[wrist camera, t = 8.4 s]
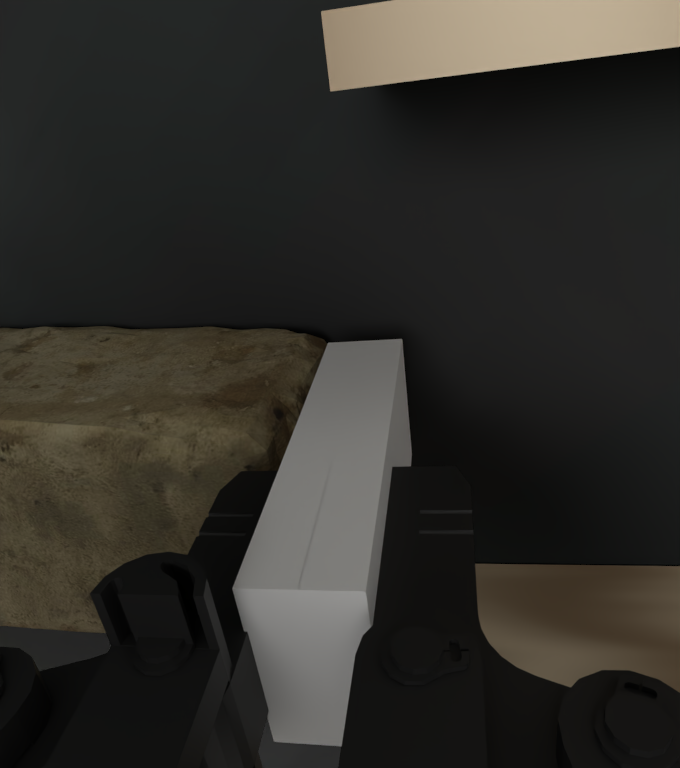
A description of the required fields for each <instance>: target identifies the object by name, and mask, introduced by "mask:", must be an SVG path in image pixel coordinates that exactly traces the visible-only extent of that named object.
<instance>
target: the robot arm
mask: <svg viewBox="0 0 680 768" xmlns="http://www.w3.org/2000/svg"><path fill="white" fill-rule="evenodd" d="M411 459H412V449H411V437H410V425H409V413H408V401H407V389H406V377H405V365H404V354H403V342H402V339H389V340H371V341H352V342H333V343H328V344H327V347H326V349H325V352H324V354H323V357H322V360H321V362H320V365H319V367H318V370H317V372H316V375H315V378H314V380H313V383H312V385H311V388H310V390H309V393H308V395H307V398H306V401H305V403H304V406H303V408H302V411H301V413H300V416H299V419H298V421H297V424H296V426H295V429H294V431H293V434H292V437H291V439H290V442H289V444H288V447H287V449H286V452H285V454H284V457H283V460H282V462H281V465H280V467H279V470H278V471H241V472H240V473H238V474H237V475H236V476H235V477H234V478H233V479H232V480H231V481H230V482H229V483H227V484H226V485H225V486H224V487H223V488H222V489H221V490H220V491H219V493H218V495H217V497H216V499H215V501H214V503H213V505H212V507H211V509H210V511H209V513H208V514H209V516H208V517H206V519H205V521H204V523H203V525H202V527H201V529H200V531H199V536H196V538H195V540H194V542H193V544H192V546H191V548H190V550H189V552H188V554H187V555H186V554H180V553H174V552H162V553H154V554H147V555H144V556H142V557H139V558H137V559H134V560H131V561H129V562H126V563H124V564H123V565H121V566H120V567H118V568H117V569H115V570H114V571H112V572H111V573H109V574H108V575H106V576H105V577H104V578H103V579H102V580H101V581H100V582H99V584H98V585H97V586H96V587H95V588H94V589H93V590H92V591H91V593H90V596H91V598H92V600H93V603H94V605H95V608H96V610H97V612H98V615H99V617H100V620H101V622H102V624H103V627H104V629H105V632H106V634H107V636H108V639H109V641H110V644H111V647H110V649H109V651H108V653H106V654H103V655H100V656H97V657H94V658H91V659H87V660H83V661H79V662H75V663H71V664H67V665H63V666H59V667H55V668H51V669H47V670H43V671H39V670H38V668H37V666H36V664H35V662H34V660H33V658H32V657H31V656H30V655H28V654H27V653H25V652H24V651H22V650H21V649H20V648H10V647H0V768H263V767H262V764H261V760H260V757H259V753H258V750H259V746H260V742H261V738H262V734H263V731H264V727H265V723H266V719H267V718H268V721H269V725H270V729H271V732H272V736H273V740H274V742H285V743H299V744H314V745H329V746H342V747H341V753H340V760H339V767H338V768H680V692H678V691H676V690H675V689H673V688H672V687H670V686H669V685H667V684H665V683H664V682H662V681H661V680H659V679H656V678H653V677H650V676H646V675H643V674H640V673H637V672H634V671H630V670H601V671H598V672H596V673H593V674H590V675H588V676H585V677H582V678H579V679H578V680H577V681H576V682H575V684H574V685H573V686H572V687H568V686H565V685H562V684H559V683H556V682H553V681H550V680H547V679H544V678H541V677H538V676H535V675H533V674H531V673H529V672H526V671H524V670H522V669H520V668H517V667H516V666H514V665H513V664H512V663H510V662H509V661H507V660H506V659H505V658H503V657H502V656H501V655H500V654H499V653H498V652H497V651H496V650H495V649H494V648H493V647H492V646H491V645H490V643H489V642H488V640H487V638H486V636H485V635H484V633H483V631H482V629H481V625H480V621H479V616H478V604H477V586H476V569H475V552H474V535H473V517H472V500H471V486H470V484H469V483H468V482H467V480H466V479H465V477H464V476H463V475H462V473H461V472H460V471H459V469H458V468H457V466H411Z"/></svg>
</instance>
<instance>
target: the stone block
mask: <svg viewBox="0 0 680 768" xmlns="http://www.w3.org/2000/svg"><path fill="white" fill-rule="evenodd" d="M326 347H327V343H326V342H325V340H324V339H321V338H318V337H315V336H312V335H309V334H306V333H303V334H298V333H295V332H292V331H289V330H286V329H271V328H261V329H245V330H236V329H227V328H219V327H193V328H169V329H124V328H117V327H109V326H95V327H46V326H44V327H35V328H26V329H14V328H0V626H13V627H24V628H37V629H51V630H64V631H76V632H92V633H106V632H105V629H104V627H103V624H102V622H101V620H100V617H99V615H98V612H97V610H96V608H95V605H94V603H93V600H92V598H91V596H90V593H91V591H92V590H93V589H94V588H95V587H96V586H97V585H98V584H99V582H100V581H101V580H102V579H103V578H104V577H105V576H106V575H108V574H109V573H111V572H112V571H114V570H115V569H117V568H118V567H120V566H121V565H123V564H124V563H126V562H129V561H131V560H134V559H137V558H139V557H142V556H144V555H147V554H154V553H162V552H174V553H180V554H186V555H187V554H188V552H189V550H190V548H191V546H192V544H193V542H194V540H195V538H196V536H199V531H200V529H201V527H202V525H203V523H204V521H205V519H206V517H208V516H209V514H208V513H209V511H210V509H211V507H212V505H213V503H214V501H215V499H216V497H217V495H218V493H219V491H220V490H221V489H222V488H223V487H224V486H225V485H226V484H227V483H229V482H230V481H231V480H232V479H233V478H234V477H235V476H236V475H237V474H238V473H240V472H241V471H278V470H279V467H280V465H281V462H282V460H283V457H284V454H285V452H286V449H287V447H288V444H289V442H290V439H291V437H292V434H293V431H294V429H295V426H296V424H297V421H298V419H299V416H300V413H301V411H302V408H303V406H304V403H305V401H306V398H307V395H308V393H309V390H310V388H311V385H312V383H313V380H314V378H315V375H316V372H317V370H318V367H319V365H320V362H321V360H322V357H323V354H324V352H325V349H326Z"/></svg>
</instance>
